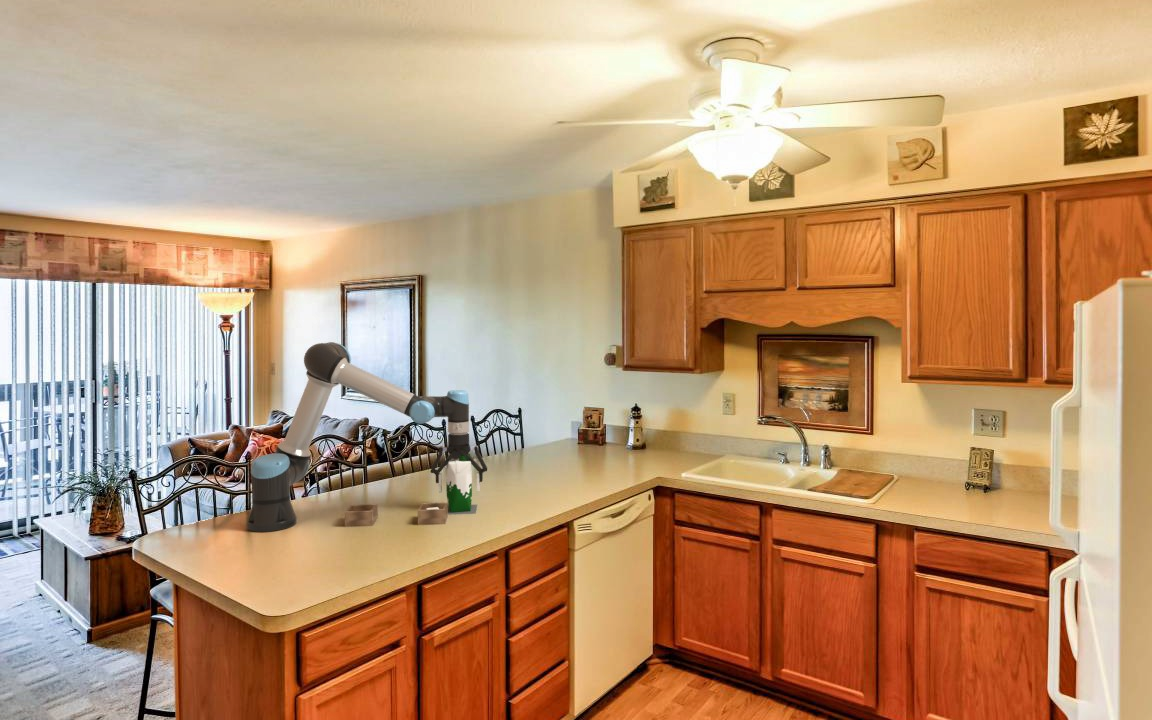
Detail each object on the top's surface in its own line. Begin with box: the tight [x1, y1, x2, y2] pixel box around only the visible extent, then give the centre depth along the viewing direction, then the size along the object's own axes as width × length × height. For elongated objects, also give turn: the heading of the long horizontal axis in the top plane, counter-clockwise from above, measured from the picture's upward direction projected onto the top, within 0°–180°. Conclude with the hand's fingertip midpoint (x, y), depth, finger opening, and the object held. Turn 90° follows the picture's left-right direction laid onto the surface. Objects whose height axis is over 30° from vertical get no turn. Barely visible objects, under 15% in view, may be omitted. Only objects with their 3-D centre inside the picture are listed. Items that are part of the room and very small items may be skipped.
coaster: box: [448, 504, 478, 516], centre depth 238 cm, size 12×12×1 cm
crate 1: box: [343, 503, 379, 528], centre depth 222 cm, size 9×9×6 cm
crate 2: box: [417, 502, 449, 526], centre depth 224 cm, size 9×9×6 cm
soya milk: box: [445, 453, 473, 513], centre depth 237 cm, size 9×9×20 cm
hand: (459, 491), depth 237 cm, fingers open, 13 cm apart
